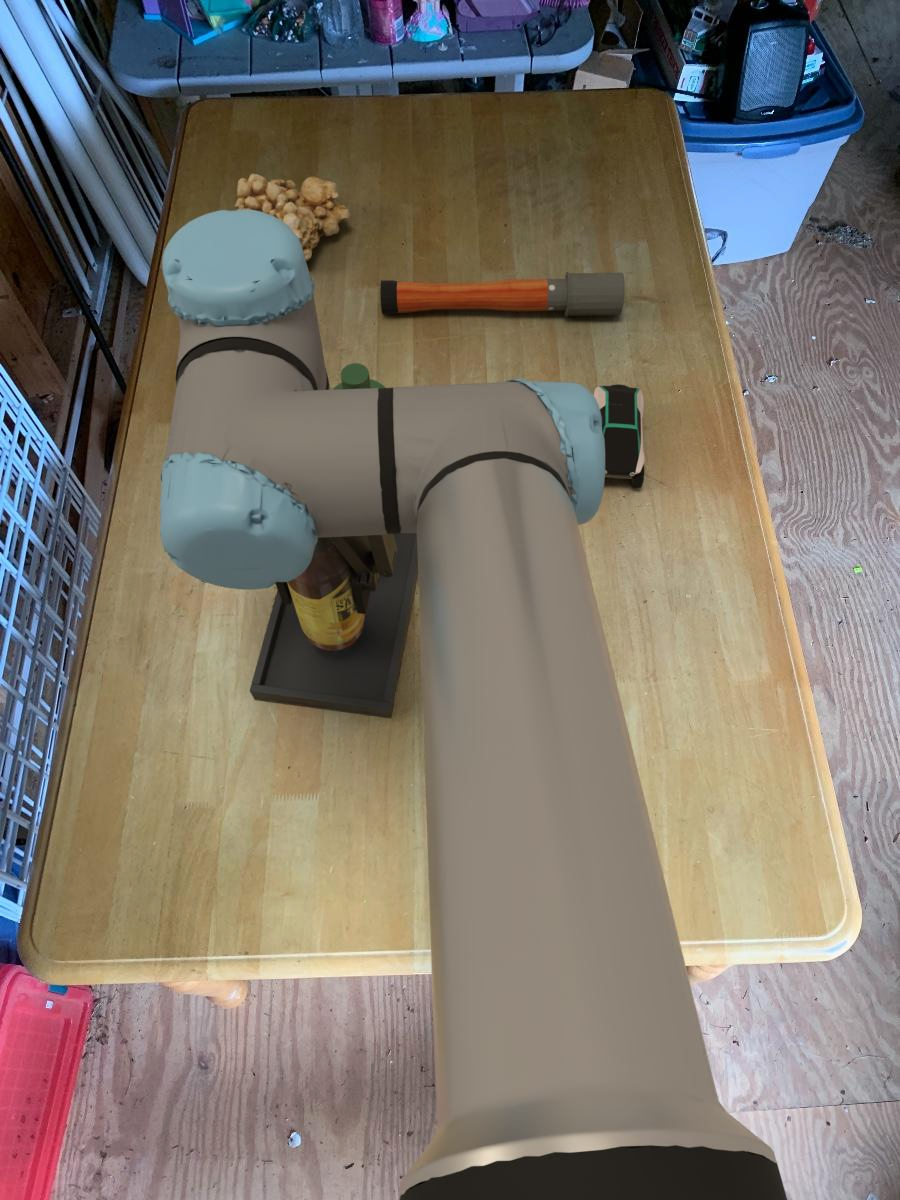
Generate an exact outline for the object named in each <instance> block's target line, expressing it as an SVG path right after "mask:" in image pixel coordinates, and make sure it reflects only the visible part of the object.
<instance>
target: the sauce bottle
mask: <svg viewBox="0 0 900 1200" xmlns="http://www.w3.org/2000/svg"><path fill="white" fill-rule="evenodd" d="M351 571H352V566H351V565H350V564H349V563H348V561H347V560H346V559H345V558H344V556H343V555H342V554H341V553H340V551H339V550H338V549H337V548H336V546H335V545H334V544H333V542H332V541H331V540H330V539H329V537H319V538H318V542H317V543H316V545H315V548H314V552H313V557H312V560H311V562H310V564H309V566H308V567H307V569H306V570H305V571H304V572H303V573H302V574H301V575H300V576H298V577H297V578H295V579H293V580H291V581H289V582H287V584H288V587H289V590H290V593H291V596H292V599H293V603H294V606H295V609H296V612H297V615H298V618H299V621H300V624H301V627H302V630H303V632H304V633H305V634H306V636H307V638H308V640H309V641H310V642H311V643H312V644H313V645H315V646H316V647H318V648H321V649H323V650H328V651H337V650H342V649H344V648H346V647H349V646H350V645H352V644H353V643H354V642H355V641H356V639H357V638H358V637H359V636H360V634H361V632H362V629H363V627H364V618H365V614H360V613H357V609H356V604H355V599H354V595H353V590H352V586H351V581H350V576H351Z"/></svg>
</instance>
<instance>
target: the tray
mask: <svg viewBox="0 0 900 1200" xmlns="http://www.w3.org/2000/svg"><path fill="white" fill-rule="evenodd" d="M394 538H395V542H396V546H397V555H396V560H395V565H394V570H393V574H392V576H391V577H384V576H381V575H380V574H379V578H378V583H377V587H376V590H375V591H371V592H370V596H369V601H368V605H367V610H366V614H365V618H364V627H363V629H362V632H361V634H360V636H359V637H358V638H357V639H356V641H355V642H354V643H353V644H352V645H350V646H349V647H346V648H344V649H342V650H337V651H328V650H323V649H321V648H318V647H316V646H315V645H313V644H312V643H311V642H310V641H309V640H308V638H307V636H306V634H305V633H304V632H303V630H302V627H301V624H300V621H299V618H298V615H297V612H296V609H295V606H294V603H293V599H292V602H291V604H283V603H282V600H281V597H280V595H279V592H278V589H277V588H276V592H275V597H274V601H273V604H272V607H271V612H270V614H269V618H268V622H267V625H266V629H265V633H264V637H263V640H262V644H261V647H260V651H259V655H258V658H257V663H256V666H255V670H254V673H253V676H252V681H251V684H250V687H249V693H250V695H251V696H252V697H253V699H254V700H255V701H263V702H268V703H269V702H270V703H277V704H284V705H291V706H299V707H305V708H313V709H319V710H326V711H327V710H328V711H335V712H343V713H349V714H357V715H363V716H370V717H379V718H385V719H392V715H393V711H394V706H395V700H396V694H397V688H398V683H399V678H400V672H401V667H402V662H403V657H404V651H405V645H406V641H407V635H408V630H409V624H410V621H411V620H410V619H411V615H412V609H413V604H414V598H415V593H416V589H417V584H418V583H417V581H418V556H417V533H400V534H394Z"/></svg>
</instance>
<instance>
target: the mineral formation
mask: <svg viewBox="0 0 900 1200" xmlns="http://www.w3.org/2000/svg"><path fill="white" fill-rule="evenodd" d="M296 187H297V185H296V183H295V181H293V180H291V179H289V180H287V181H286V180H284V179H283V178H280V179H271V180H270V181H268V180H267V178H266V177H264V176H262V175H259V174H257V173H251V174H250V175H249V177H248V179H247V178H245V177H241V178H240V179H239V180H238V182H237V187H236V195H237V200H236V202H235V204H234V207H235V208H236V210H242V209H249V210H255V211H260V212H263V213H266V214H269V215H271V216H274V217H276V218H278V219H279V220H281V221H282V222H284V223H285V224H286V225H287V226H289V227H290V228H291V230H292V231H293V232H294V233H295V234H296V236H297V237H298V239H299V240H300V243H301V245H302V248H303V252H304V256H305V260H306V262H308V261H310V259H311V258H312V254H313V249H314V248H316V247H317V246H318V244H319V242H320V239H321V238H320V237H323V236H325V237H329V236H332V235H335V234H338V233H339V231H340V226H339V223H341V222H342V221H343V220H347V219H349V218H350V216H351V213H350V209H349V208H347V207H346V206H345V205H340V204H339V203H338V202H336V201H335V200H336V199H337V198H338V197H339V193H338V186H337V184H336V182H333V181H330V180H324V179H321V178H320V177H316V176H310V177H307V178H305V179H304V181H302V184H301V187H300V191H298V190H297V189H296Z"/></svg>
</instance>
